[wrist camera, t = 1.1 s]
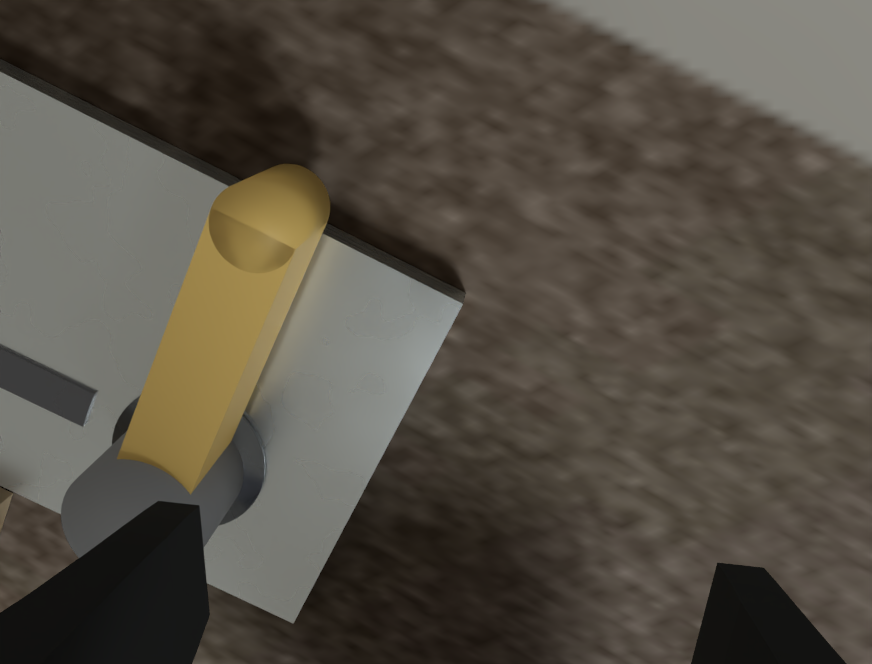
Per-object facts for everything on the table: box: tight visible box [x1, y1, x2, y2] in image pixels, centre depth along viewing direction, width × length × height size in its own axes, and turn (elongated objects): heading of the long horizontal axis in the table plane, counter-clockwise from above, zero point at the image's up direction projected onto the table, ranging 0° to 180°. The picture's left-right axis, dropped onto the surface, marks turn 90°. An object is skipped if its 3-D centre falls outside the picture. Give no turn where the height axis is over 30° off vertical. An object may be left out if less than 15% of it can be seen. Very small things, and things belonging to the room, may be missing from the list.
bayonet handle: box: [61, 164, 330, 558], centre depth 20 cm, size 11×4×3 cm, turn 154°
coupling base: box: [0, 59, 466, 623], centre depth 22 cm, size 13×16×1 cm
